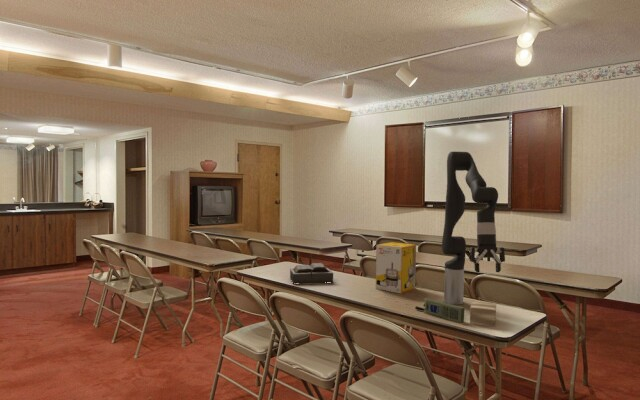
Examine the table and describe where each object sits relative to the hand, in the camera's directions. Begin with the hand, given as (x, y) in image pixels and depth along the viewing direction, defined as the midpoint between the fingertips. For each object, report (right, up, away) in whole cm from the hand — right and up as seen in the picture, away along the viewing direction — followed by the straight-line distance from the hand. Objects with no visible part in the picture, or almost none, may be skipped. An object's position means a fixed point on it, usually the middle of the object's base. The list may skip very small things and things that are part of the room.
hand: (487, 272), depth 189 cm
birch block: (0, -22, +5) cm, 23 cm away
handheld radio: (-17, -22, +13) cm, 31 cm away
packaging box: (-28, -20, +65) cm, 74 cm away
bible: (-76, -19, +84) cm, 115 cm away
